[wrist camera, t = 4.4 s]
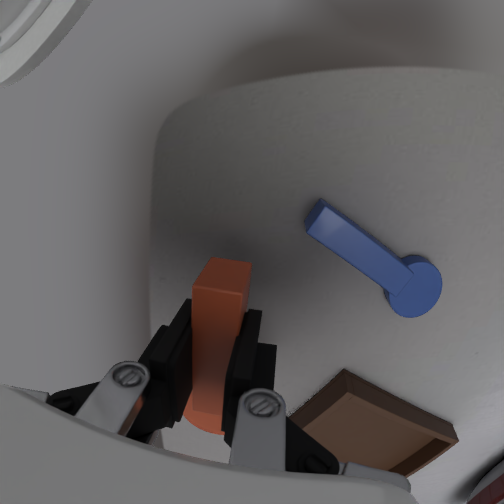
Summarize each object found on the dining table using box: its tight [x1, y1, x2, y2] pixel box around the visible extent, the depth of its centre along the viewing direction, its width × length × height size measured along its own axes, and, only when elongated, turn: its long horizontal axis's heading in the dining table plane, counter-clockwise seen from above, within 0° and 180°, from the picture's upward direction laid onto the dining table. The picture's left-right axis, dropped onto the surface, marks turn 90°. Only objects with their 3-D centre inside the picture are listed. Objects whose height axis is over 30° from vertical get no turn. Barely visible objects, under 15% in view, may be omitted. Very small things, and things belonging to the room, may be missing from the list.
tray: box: [289, 369, 459, 478], centre depth 20 cm, size 15×11×2 cm
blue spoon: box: [304, 199, 442, 318], centre depth 15 cm, size 10×4×3 cm, turn 58°
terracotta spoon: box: [183, 257, 252, 435], centre depth 12 cm, size 10×4×3 cm, turn 174°
